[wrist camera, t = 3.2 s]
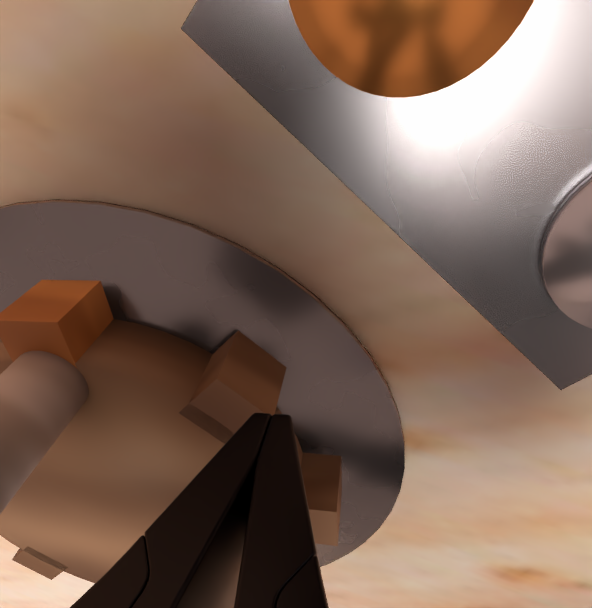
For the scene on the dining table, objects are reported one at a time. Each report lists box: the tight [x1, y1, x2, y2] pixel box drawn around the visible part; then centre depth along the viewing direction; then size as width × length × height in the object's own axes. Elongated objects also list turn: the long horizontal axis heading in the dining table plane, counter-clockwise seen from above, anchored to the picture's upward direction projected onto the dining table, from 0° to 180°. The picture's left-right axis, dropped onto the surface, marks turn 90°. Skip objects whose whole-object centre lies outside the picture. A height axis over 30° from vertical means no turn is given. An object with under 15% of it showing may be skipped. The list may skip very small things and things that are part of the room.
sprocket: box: [0, 280, 342, 583], centre depth 14 cm, size 15×15×5 cm
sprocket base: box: [0, 200, 404, 567], centre depth 17 cm, size 19×19×1 cm
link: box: [181, 0, 592, 390], centre depth 7 cm, size 7×4×5 cm, turn 49°
